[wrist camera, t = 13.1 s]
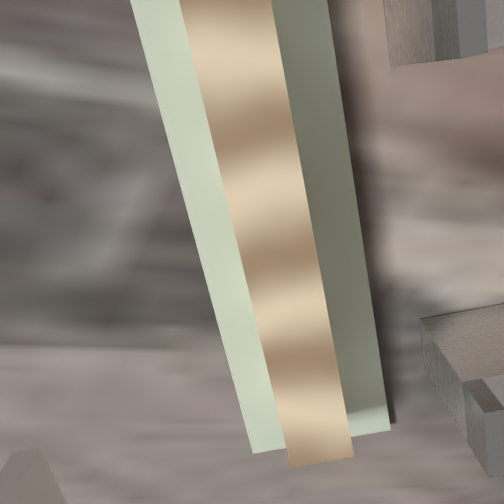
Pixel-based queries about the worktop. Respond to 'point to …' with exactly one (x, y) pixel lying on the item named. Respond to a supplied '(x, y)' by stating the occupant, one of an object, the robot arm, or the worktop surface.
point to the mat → (318, 197)
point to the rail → (270, 218)
